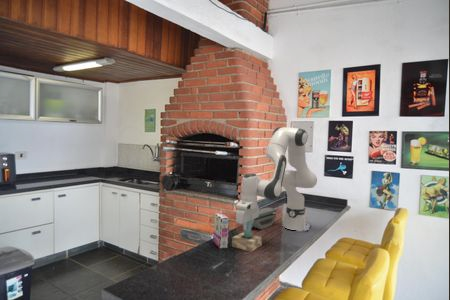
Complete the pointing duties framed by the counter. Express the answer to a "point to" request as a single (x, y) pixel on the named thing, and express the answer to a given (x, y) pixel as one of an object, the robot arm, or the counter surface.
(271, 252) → the counter surface
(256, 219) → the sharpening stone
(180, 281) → the counter surface
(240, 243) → the socket block
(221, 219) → the candy bar box
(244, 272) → the counter surface
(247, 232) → the peg
